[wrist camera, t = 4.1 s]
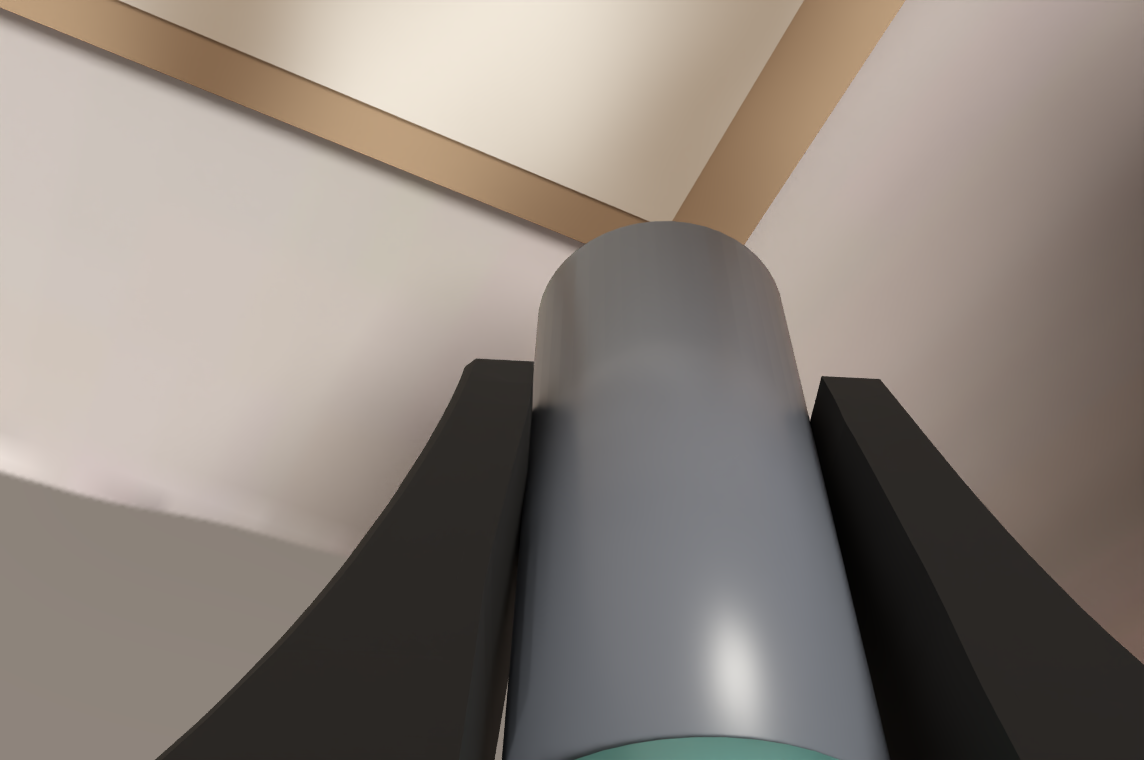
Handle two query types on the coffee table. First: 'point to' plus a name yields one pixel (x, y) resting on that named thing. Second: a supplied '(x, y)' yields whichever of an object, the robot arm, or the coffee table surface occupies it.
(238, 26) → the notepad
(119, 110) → the coffee table surface
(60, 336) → the coffee table surface
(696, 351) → the marker
